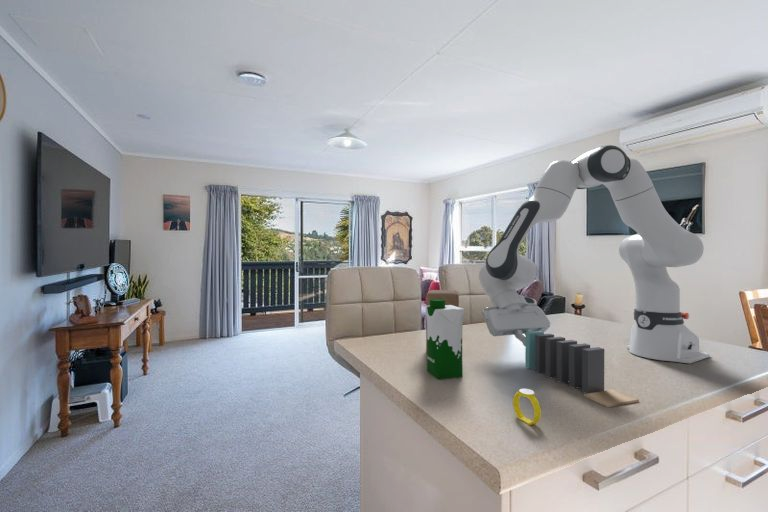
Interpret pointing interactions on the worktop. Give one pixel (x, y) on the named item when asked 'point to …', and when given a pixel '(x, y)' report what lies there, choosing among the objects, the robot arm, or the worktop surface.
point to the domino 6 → (592, 370)
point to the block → (448, 295)
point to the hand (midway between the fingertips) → (530, 345)
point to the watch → (536, 406)
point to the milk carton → (444, 339)
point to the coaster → (611, 398)
